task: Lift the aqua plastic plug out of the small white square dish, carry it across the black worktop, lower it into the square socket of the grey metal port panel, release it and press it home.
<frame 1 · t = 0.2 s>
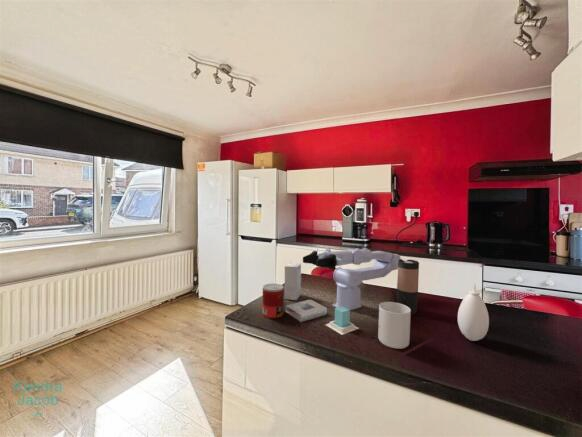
hand: (309, 261, 91), 21 cm above the counter, tool horizontal, fingers open, 7 cm apart
mug: (392, 341, 79), on the counter
skincare box: (292, 297, 114), on the counter
canned food: (272, 315, 95), on the counter
white square dish: (341, 328, 86), on the counter
plug: (341, 326, 86), point 1 cm above the counter, touching white square dish
port panel: (305, 314, 96), on the counter
sauce bottle: (471, 340, 80), on the counter
travel mug: (406, 310, 101), on the counter
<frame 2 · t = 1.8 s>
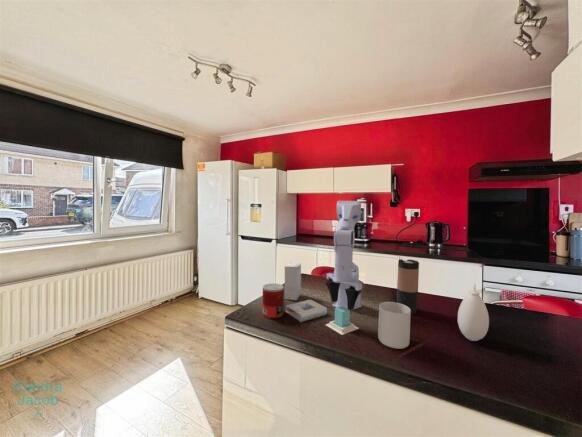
hand: (342, 305, 85), 8 cm above the counter, tool pointing down, fingers open, 7 cm apart
nothing on the counter moved.
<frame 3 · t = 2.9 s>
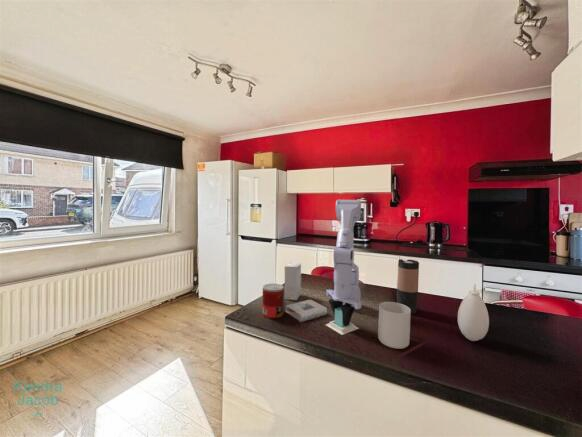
hand: (341, 322, 86), 2 cm above the counter, tool pointing down, fingers closed on plug, 3 cm apart
plug: (341, 326, 86), point 1 cm above the counter, touching gripper, white square dish
everything else where it was.
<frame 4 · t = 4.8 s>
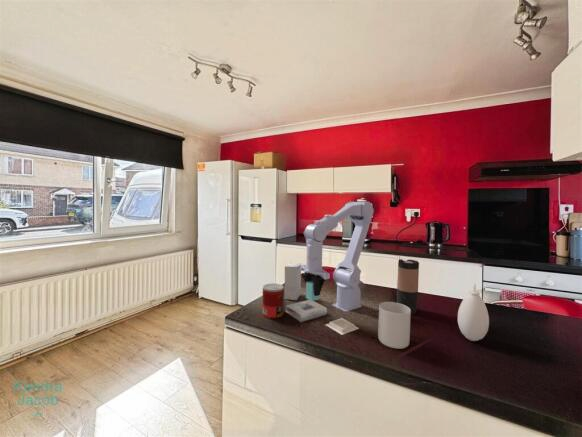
hand: (313, 293, 93), 9 cm above the counter, tool pointing down, fingers closed on plug, 3 cm apart
plug: (312, 298, 93), point 7 cm above the counter, touching gripper
everything else where it was.
when the fingers open (4 cm above the counter, at t = 6.7 s): plug drops 2 cm, resting in port panel.
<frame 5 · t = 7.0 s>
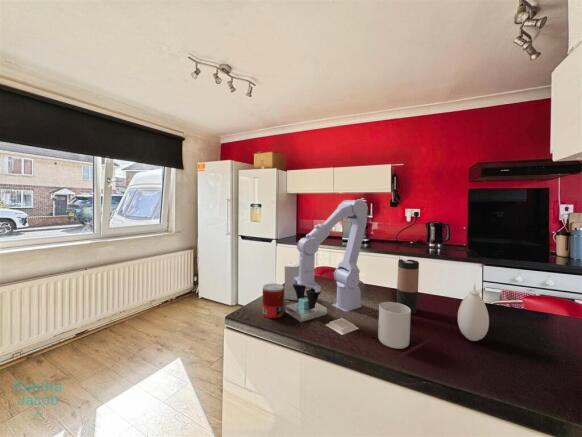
hand: (306, 305, 96), 4 cm above the counter, tool pointing down, fingers open, 6 cm apart
plug: (304, 314, 96), resting in port panel
everything else where it was.
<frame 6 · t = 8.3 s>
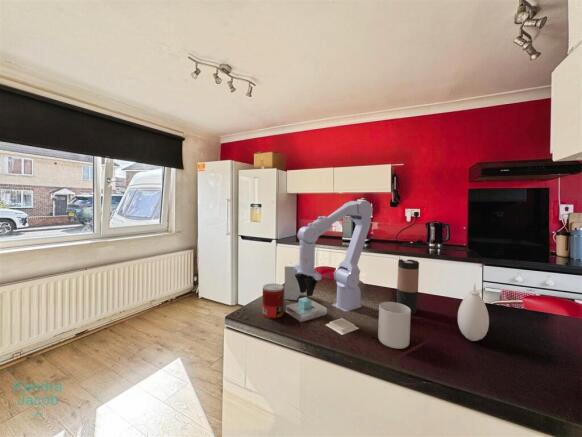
hand: (306, 294, 96), 8 cm above the counter, tool pointing down, fingers open, 4 cm apart
nothing on the counter moved.
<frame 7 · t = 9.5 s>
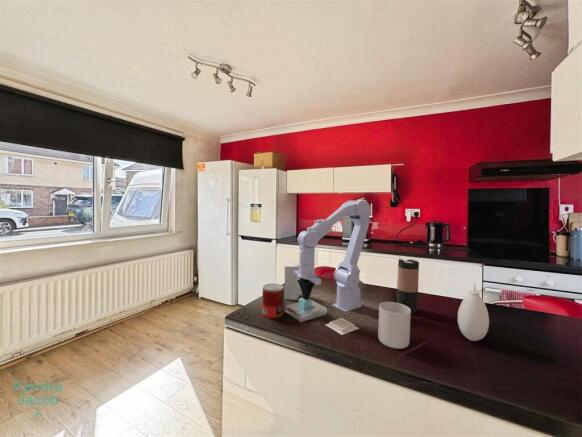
hand: (306, 298, 96), 6 cm above the counter, tool pointing down, fingers closed
nothing on the counter moved.
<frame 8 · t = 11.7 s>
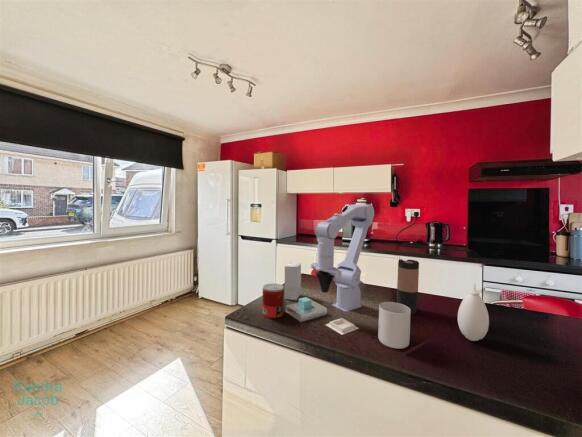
hand: (324, 291, 93), 10 cm above the counter, tool pointing down, fingers closed
nothing on the counter moved.
at the end: plug 0.5 cm off-centre on the port panel, point 0.0 cm above the port panel's base; plug tilted 0°; the gripper is holding nothing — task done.
